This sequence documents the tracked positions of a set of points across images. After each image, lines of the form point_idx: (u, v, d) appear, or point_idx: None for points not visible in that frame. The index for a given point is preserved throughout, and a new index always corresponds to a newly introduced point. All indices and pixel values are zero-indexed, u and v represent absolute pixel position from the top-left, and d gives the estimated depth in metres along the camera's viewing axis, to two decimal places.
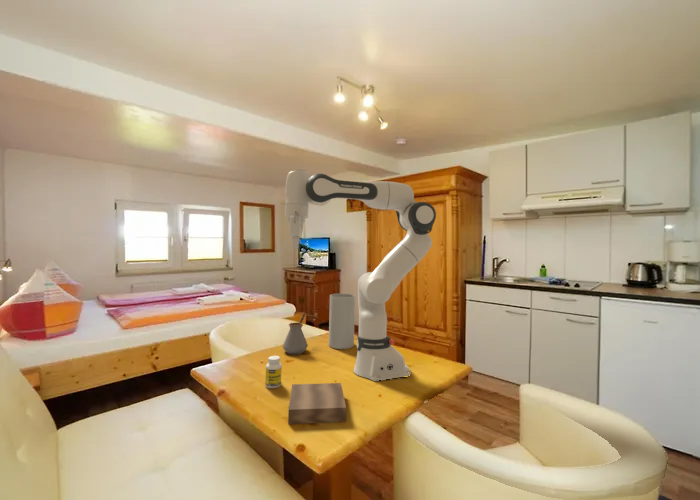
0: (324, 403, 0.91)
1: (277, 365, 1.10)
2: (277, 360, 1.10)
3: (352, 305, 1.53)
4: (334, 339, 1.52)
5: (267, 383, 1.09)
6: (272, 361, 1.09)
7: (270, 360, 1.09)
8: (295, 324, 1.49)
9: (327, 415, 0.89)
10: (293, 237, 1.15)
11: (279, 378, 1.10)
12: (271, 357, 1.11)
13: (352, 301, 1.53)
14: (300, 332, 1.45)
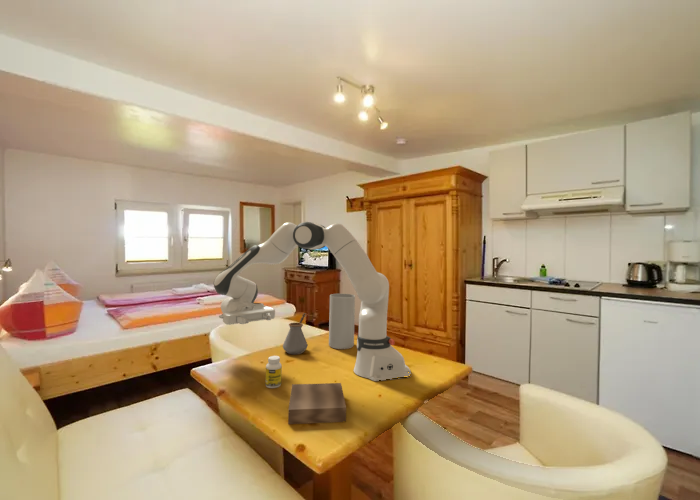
0: (324, 403, 0.91)
1: (277, 365, 1.10)
2: (277, 360, 1.10)
3: (352, 305, 1.53)
4: (334, 339, 1.52)
5: (267, 383, 1.09)
6: (272, 361, 1.09)
7: (270, 360, 1.09)
8: (295, 324, 1.49)
9: (327, 415, 0.89)
10: (237, 321, 1.19)
11: (279, 378, 1.10)
12: (271, 357, 1.11)
13: (352, 301, 1.53)
14: (300, 332, 1.45)
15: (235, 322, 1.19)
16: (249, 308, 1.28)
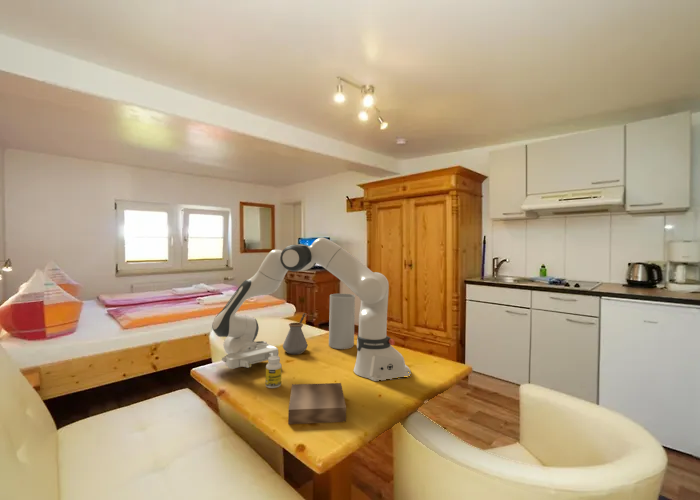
0: (324, 403, 0.91)
1: (277, 365, 1.10)
2: (277, 360, 1.10)
3: (352, 305, 1.53)
4: (334, 339, 1.52)
5: (267, 383, 1.09)
6: (272, 361, 1.09)
7: (270, 360, 1.09)
8: (295, 324, 1.49)
9: (327, 415, 0.89)
10: (239, 364, 1.17)
11: (279, 378, 1.10)
12: (271, 357, 1.11)
13: (352, 301, 1.53)
14: (300, 332, 1.45)
15: (238, 366, 1.17)
16: (252, 348, 1.27)
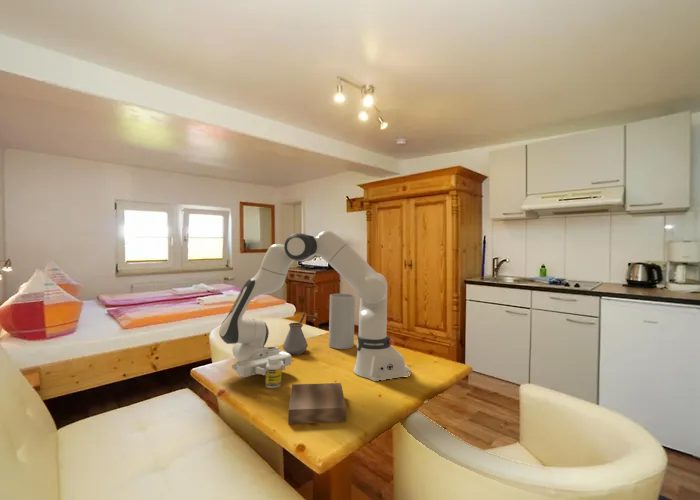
0: (324, 403, 0.91)
1: (277, 365, 1.10)
2: (277, 360, 1.10)
3: (352, 305, 1.53)
4: (334, 339, 1.52)
5: (267, 383, 1.09)
6: (272, 361, 1.09)
7: (270, 360, 1.09)
8: (295, 324, 1.49)
9: (327, 415, 0.89)
10: (255, 371, 1.10)
11: (279, 378, 1.10)
12: (271, 357, 1.11)
13: (352, 301, 1.53)
14: (300, 332, 1.45)
15: (250, 374, 1.09)
16: (264, 355, 1.19)
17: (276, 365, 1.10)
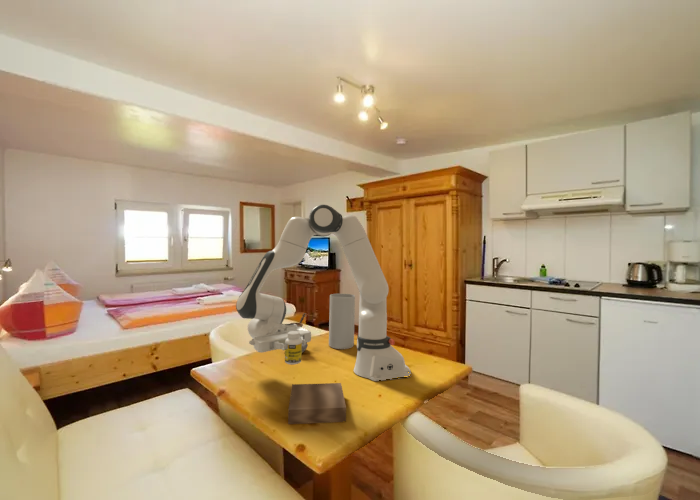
0: (324, 403, 0.91)
1: (297, 340, 1.03)
2: (297, 335, 1.03)
3: (352, 305, 1.53)
4: (334, 339, 1.52)
5: (287, 359, 1.02)
6: (292, 336, 1.02)
7: (290, 335, 1.02)
8: None
9: (327, 415, 0.89)
10: (274, 347, 1.03)
11: (299, 354, 1.03)
12: (291, 332, 1.04)
13: (352, 301, 1.53)
14: None
15: (268, 349, 1.03)
16: (282, 331, 1.12)
17: (296, 340, 1.03)
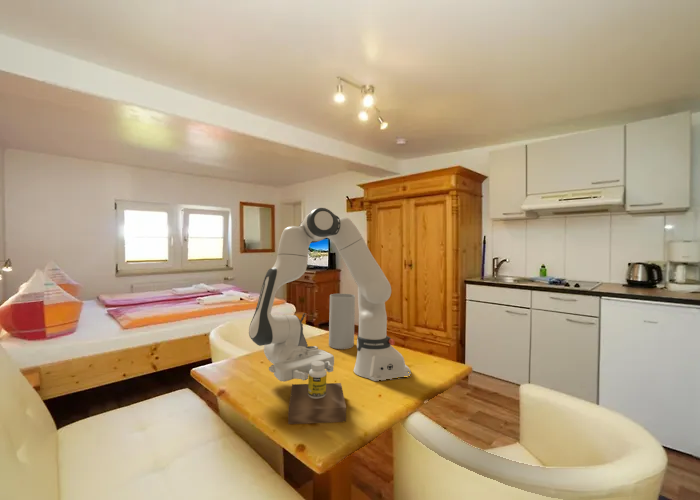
0: (324, 403, 0.91)
1: (322, 372, 0.95)
2: (322, 366, 0.95)
3: (352, 305, 1.53)
4: (334, 339, 1.52)
5: (311, 393, 0.94)
6: (316, 367, 0.94)
7: (314, 366, 0.94)
8: None
9: (327, 415, 0.89)
10: (293, 376, 0.94)
11: (324, 387, 0.95)
12: (315, 363, 0.96)
13: (352, 301, 1.53)
14: None
15: (291, 377, 0.94)
16: (303, 355, 1.04)
17: (321, 372, 0.94)
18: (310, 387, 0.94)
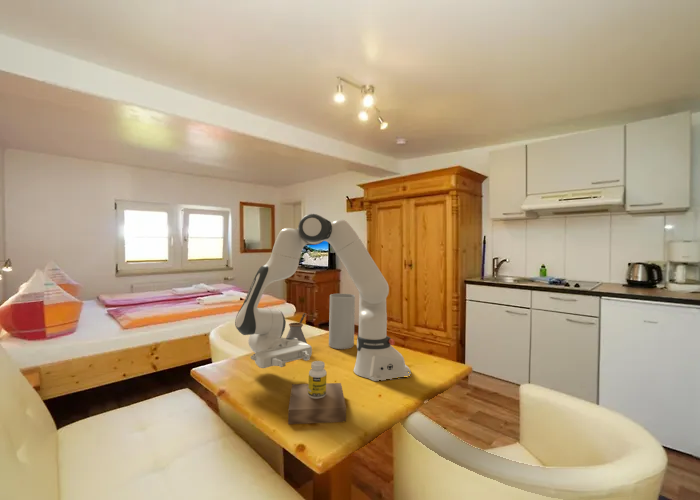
0: (324, 403, 0.91)
1: (322, 372, 0.95)
2: (322, 366, 0.95)
3: (352, 305, 1.53)
4: (334, 339, 1.52)
5: (311, 393, 0.94)
6: (316, 367, 0.94)
7: (314, 366, 0.94)
8: (295, 324, 1.49)
9: (327, 415, 0.89)
10: (272, 363, 1.04)
11: (324, 387, 0.95)
12: (315, 362, 0.96)
13: (352, 301, 1.53)
14: (300, 332, 1.45)
15: (270, 365, 1.04)
16: (283, 345, 1.13)
17: (321, 372, 0.94)
18: (310, 387, 0.94)
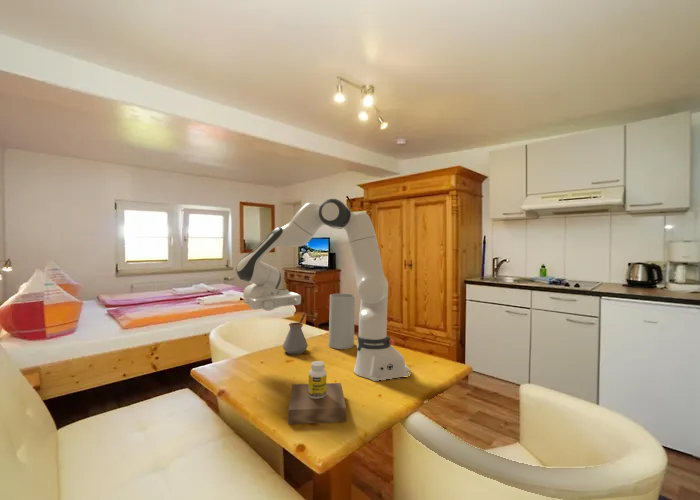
0: (324, 403, 0.91)
1: (322, 372, 0.95)
2: (322, 366, 0.95)
3: (352, 305, 1.53)
4: (334, 339, 1.52)
5: (311, 393, 0.94)
6: (316, 367, 0.94)
7: (314, 366, 0.94)
8: (295, 324, 1.49)
9: (327, 415, 0.89)
10: (263, 305, 1.13)
11: (324, 387, 0.95)
12: (314, 362, 0.96)
13: (352, 301, 1.53)
14: (300, 332, 1.45)
15: (262, 307, 1.14)
16: (274, 294, 1.23)
17: (321, 372, 0.94)
18: (310, 387, 0.94)
